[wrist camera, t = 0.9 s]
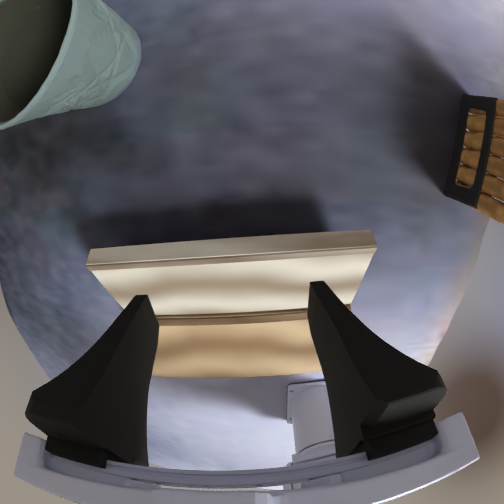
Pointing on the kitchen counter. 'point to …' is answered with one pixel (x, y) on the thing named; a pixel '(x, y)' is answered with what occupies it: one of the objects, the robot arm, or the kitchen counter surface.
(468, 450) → the robot arm
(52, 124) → the kitchen counter surface
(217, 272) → the plank
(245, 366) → the laid plank
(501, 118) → the ammunition clip
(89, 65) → the green cup
